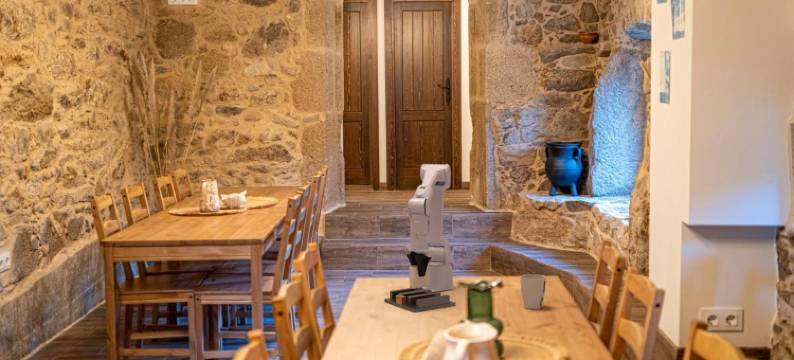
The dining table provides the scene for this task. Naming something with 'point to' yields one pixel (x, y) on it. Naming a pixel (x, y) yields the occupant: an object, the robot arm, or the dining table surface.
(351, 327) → the dining table surface
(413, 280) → the tall beige block
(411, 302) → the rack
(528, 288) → the cup
